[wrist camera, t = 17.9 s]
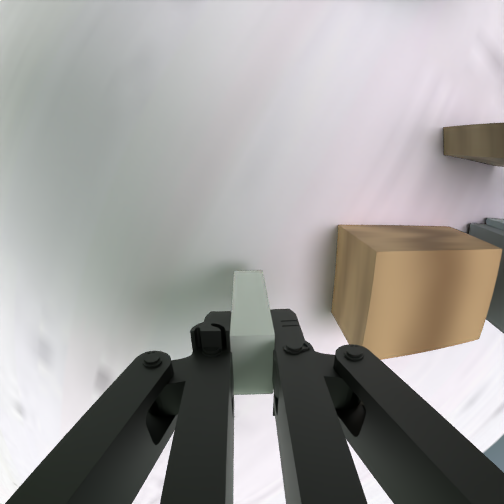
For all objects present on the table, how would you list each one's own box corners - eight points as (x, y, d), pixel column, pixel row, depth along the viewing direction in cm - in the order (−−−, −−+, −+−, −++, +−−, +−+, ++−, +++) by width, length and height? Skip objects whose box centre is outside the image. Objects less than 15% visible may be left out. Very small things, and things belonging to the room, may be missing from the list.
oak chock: (448, 226, 18) (502, 248, 13) (435, 301, 20) (478, 339, 14) (337, 224, 18) (376, 251, 12) (330, 310, 20) (358, 362, 14)
